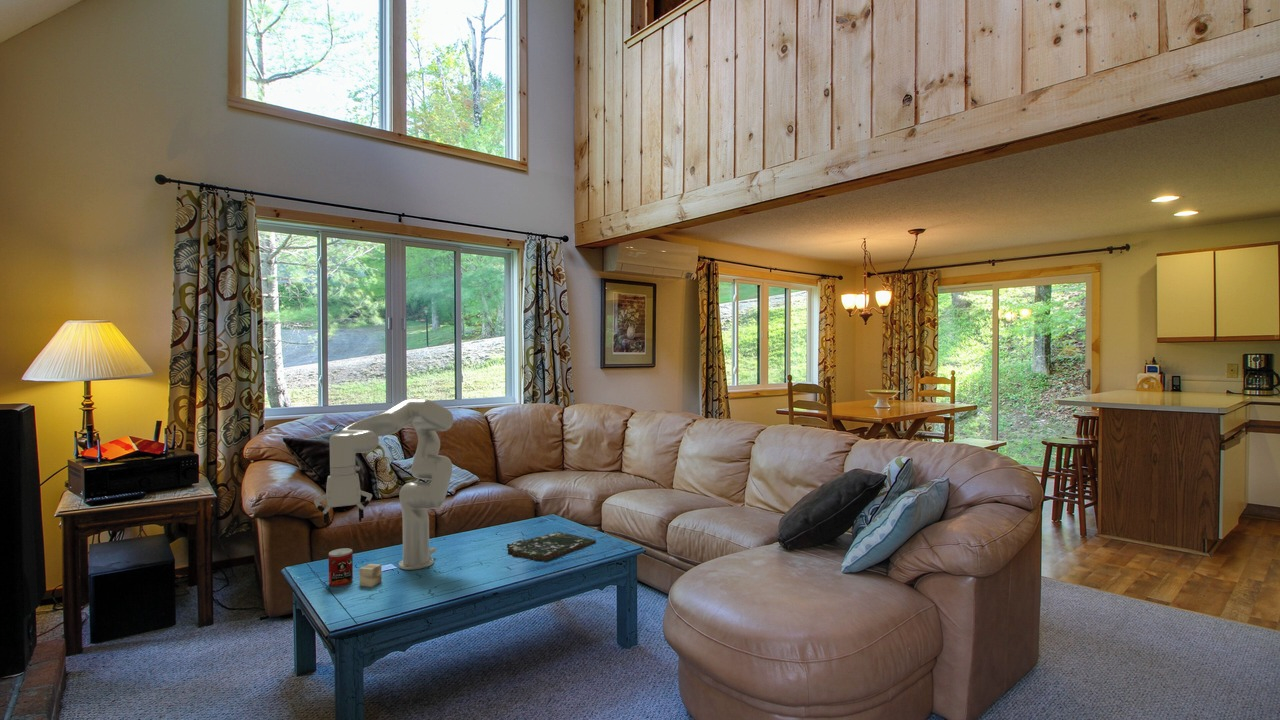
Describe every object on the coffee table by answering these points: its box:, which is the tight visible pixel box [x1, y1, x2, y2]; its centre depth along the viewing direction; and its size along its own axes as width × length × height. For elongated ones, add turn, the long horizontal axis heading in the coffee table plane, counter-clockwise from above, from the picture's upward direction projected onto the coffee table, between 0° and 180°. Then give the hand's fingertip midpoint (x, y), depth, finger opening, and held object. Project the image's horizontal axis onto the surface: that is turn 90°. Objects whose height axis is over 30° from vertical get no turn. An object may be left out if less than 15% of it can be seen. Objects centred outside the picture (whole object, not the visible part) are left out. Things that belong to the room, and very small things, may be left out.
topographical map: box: [506, 531, 597, 563], centre depth 253 cm, size 26×33×3 cm
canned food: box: [328, 547, 354, 587], centre depth 214 cm, size 8×8×11 cm
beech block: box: [358, 563, 382, 588], centre depth 213 cm, size 5×5×6 cm
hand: (344, 522), depth 199 cm, fingers open, 9 cm apart
